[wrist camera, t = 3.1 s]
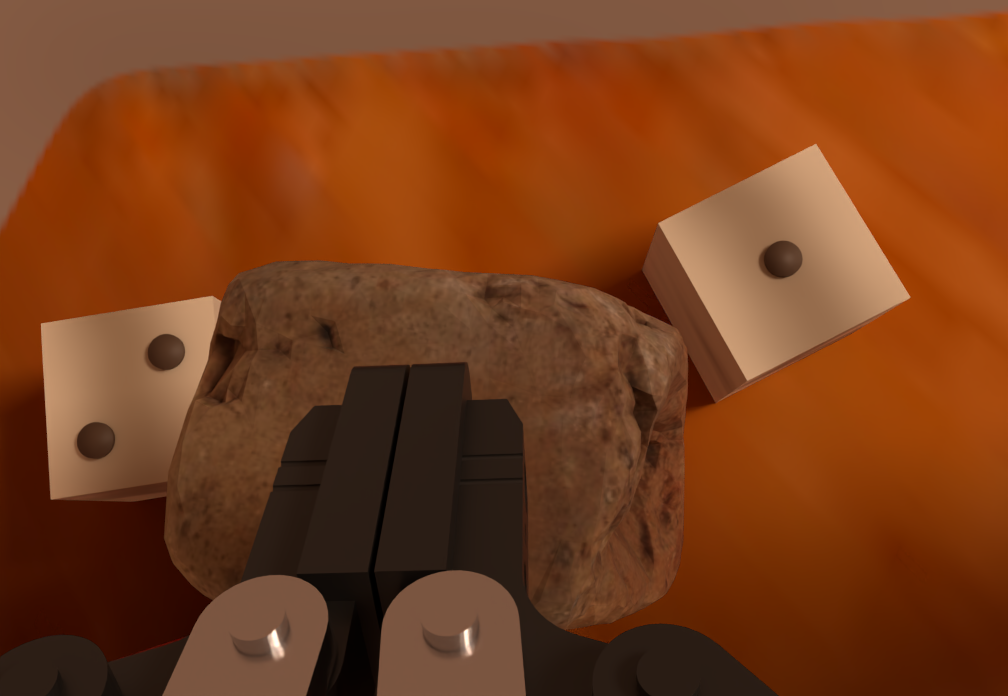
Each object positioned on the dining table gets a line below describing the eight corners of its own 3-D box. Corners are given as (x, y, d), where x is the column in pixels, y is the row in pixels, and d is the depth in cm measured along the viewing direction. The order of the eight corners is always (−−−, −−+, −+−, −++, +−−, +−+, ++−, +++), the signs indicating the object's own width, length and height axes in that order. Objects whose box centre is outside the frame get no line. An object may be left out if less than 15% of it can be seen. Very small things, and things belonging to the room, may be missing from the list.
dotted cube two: (267, 330, 37) (210, 294, 31) (283, 478, 36) (226, 471, 29) (123, 353, 37) (37, 322, 31) (134, 501, 36) (47, 499, 30)
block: (355, 561, 35) (93, 623, 15) (383, 369, 36) (176, 196, 16) (638, 598, 34) (752, 716, 14) (657, 400, 35) (785, 258, 15)
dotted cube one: (773, 203, 36) (817, 141, 30) (851, 333, 35) (913, 296, 29) (641, 270, 36) (658, 221, 30) (715, 403, 35) (748, 380, 29)
